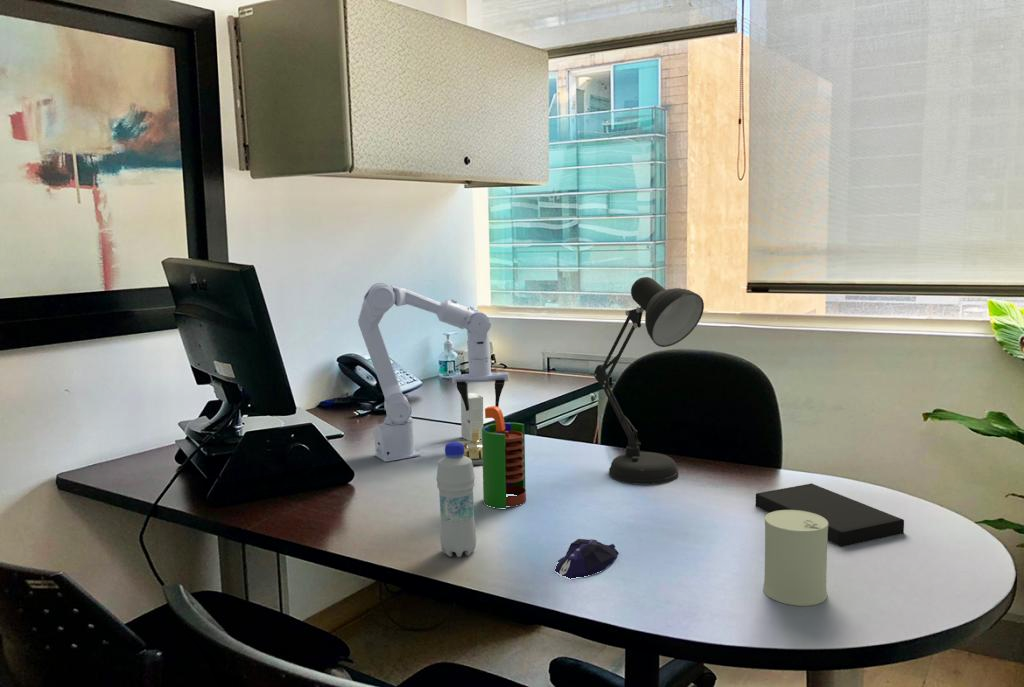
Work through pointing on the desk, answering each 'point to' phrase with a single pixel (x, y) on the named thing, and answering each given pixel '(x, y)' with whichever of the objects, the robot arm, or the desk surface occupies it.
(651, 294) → the desk lamp
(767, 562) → the can
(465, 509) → the bottle
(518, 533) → the desk surface
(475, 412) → the skincare box
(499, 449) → the coil heat exchanger
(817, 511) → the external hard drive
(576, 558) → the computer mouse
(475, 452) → the brass valve fitting
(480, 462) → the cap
